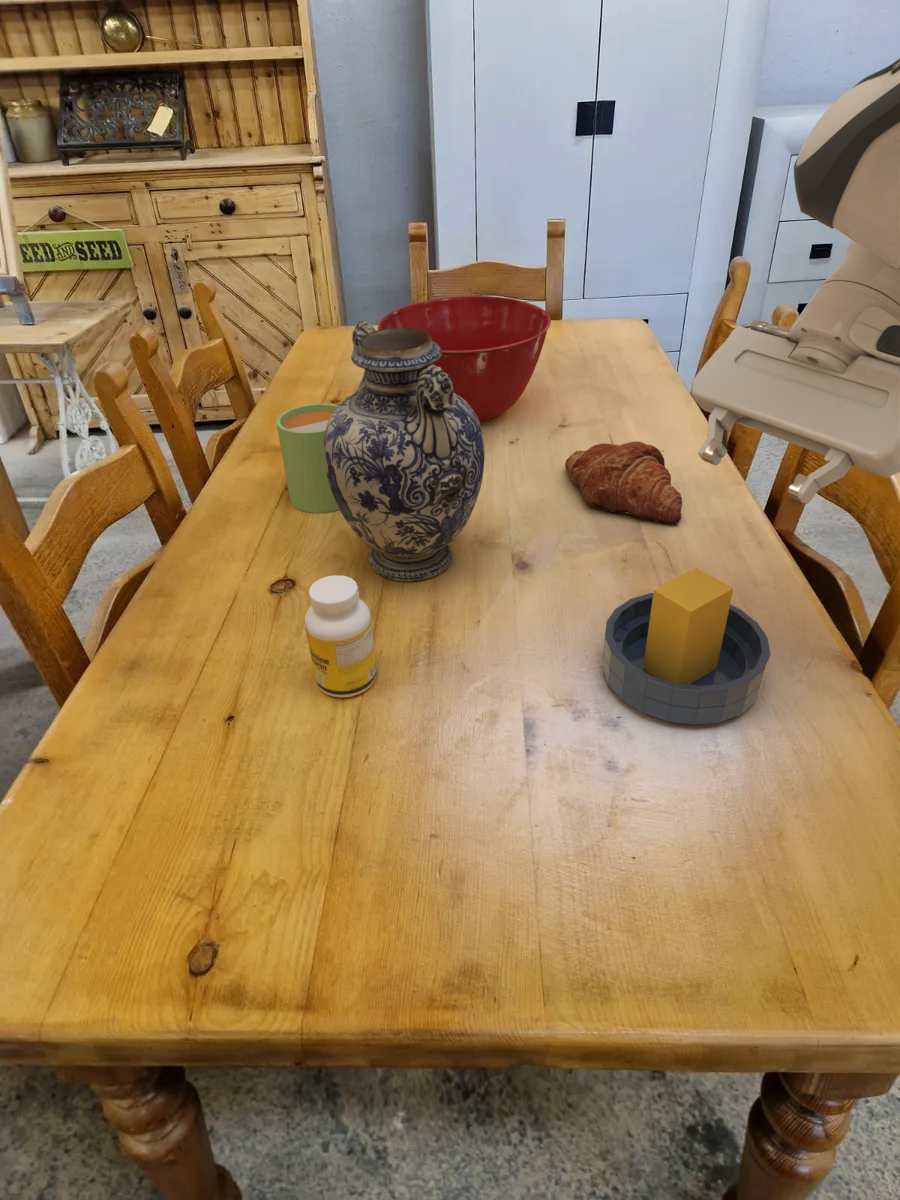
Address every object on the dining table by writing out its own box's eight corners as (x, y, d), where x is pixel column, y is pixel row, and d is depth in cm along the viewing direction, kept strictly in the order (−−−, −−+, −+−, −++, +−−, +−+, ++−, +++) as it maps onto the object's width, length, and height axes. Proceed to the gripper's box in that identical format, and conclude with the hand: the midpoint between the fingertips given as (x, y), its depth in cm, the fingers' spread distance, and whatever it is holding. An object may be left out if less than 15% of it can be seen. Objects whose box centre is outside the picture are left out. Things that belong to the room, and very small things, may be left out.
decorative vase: (520, 575, 97) (524, 347, 80) (385, 626, 89) (359, 387, 73) (434, 504, 112) (422, 300, 95) (312, 543, 104) (277, 329, 88)
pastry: (552, 517, 108) (554, 463, 103) (566, 466, 120) (569, 416, 115) (680, 528, 104) (688, 473, 99) (681, 475, 116) (688, 424, 111)
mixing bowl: (511, 454, 124) (512, 356, 115) (355, 428, 134) (344, 336, 125) (569, 390, 144) (573, 303, 135) (429, 372, 154) (425, 290, 145)
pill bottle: (317, 661, 85) (301, 572, 78) (377, 656, 85) (366, 566, 78) (314, 703, 80) (296, 611, 73) (378, 697, 80) (367, 605, 73)
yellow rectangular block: (716, 668, 80) (734, 588, 74) (676, 693, 78) (690, 611, 72) (682, 646, 83) (696, 567, 77) (642, 669, 81) (653, 589, 75)
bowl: (786, 721, 75) (798, 682, 72) (624, 737, 74) (630, 698, 71) (725, 622, 88) (732, 585, 85) (586, 634, 87) (589, 597, 84)
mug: (372, 501, 113) (363, 422, 106) (302, 519, 110) (288, 439, 103) (342, 466, 122) (332, 392, 115) (276, 482, 119) (262, 406, 112)
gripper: (732, 296, 73) (646, 424, 74) (956, 351, 59) (845, 507, 60) (754, 335, 77) (672, 455, 79) (967, 394, 63) (864, 538, 65)
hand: (749, 478), depth 69 cm, fingers open, 8 cm apart
